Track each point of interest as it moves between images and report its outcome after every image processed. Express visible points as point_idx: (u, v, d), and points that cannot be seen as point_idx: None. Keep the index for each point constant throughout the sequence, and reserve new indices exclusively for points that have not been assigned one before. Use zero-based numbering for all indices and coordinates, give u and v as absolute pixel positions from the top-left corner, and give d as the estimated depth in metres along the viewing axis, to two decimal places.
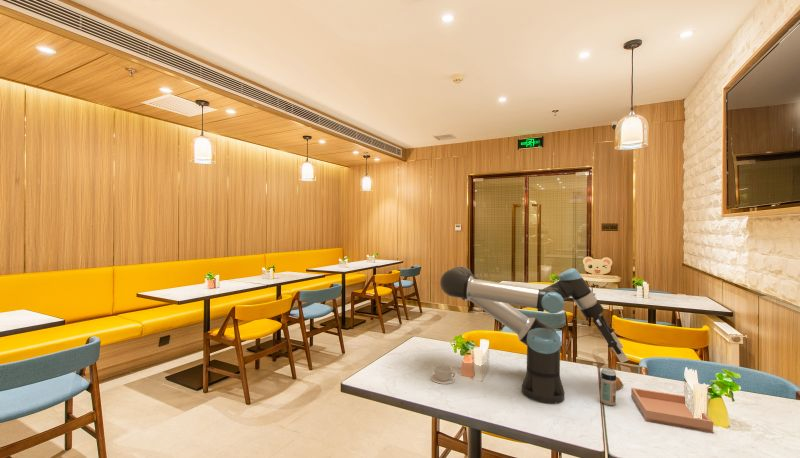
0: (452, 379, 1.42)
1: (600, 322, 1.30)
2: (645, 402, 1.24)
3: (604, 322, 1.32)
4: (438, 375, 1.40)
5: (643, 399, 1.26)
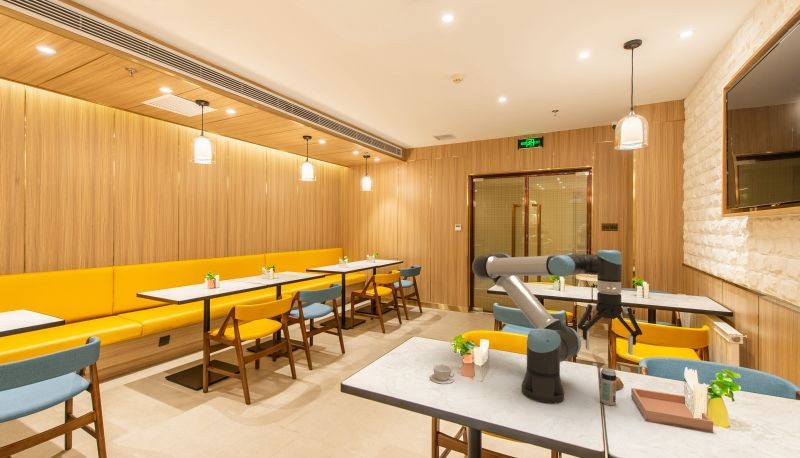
0: (451, 379, 1.42)
1: (588, 306, 1.27)
2: (645, 402, 1.24)
3: (600, 312, 1.25)
4: (437, 375, 1.40)
5: (643, 399, 1.26)
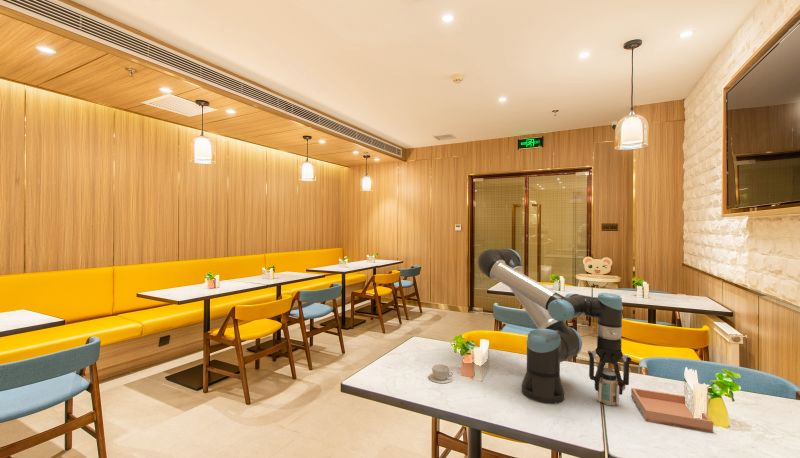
0: (450, 378, 1.43)
1: None
2: (645, 402, 1.24)
3: (602, 359, 1.25)
4: (436, 374, 1.41)
5: (643, 399, 1.26)
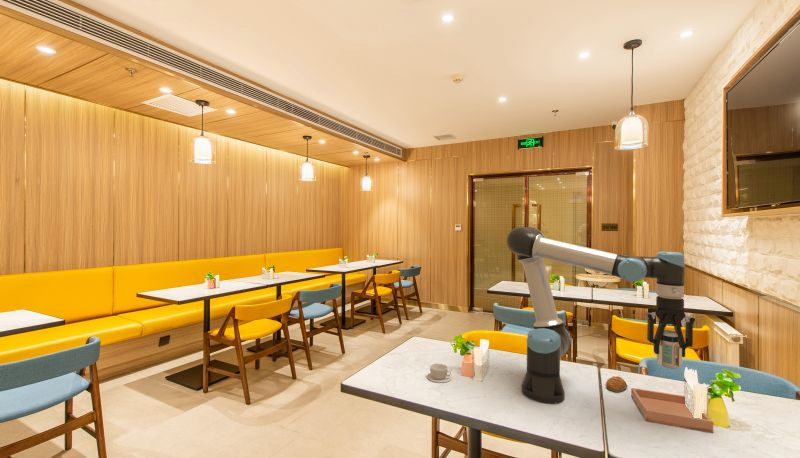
0: (448, 378, 1.43)
1: (647, 316, 1.21)
2: (645, 402, 1.24)
3: (663, 320, 1.18)
4: (434, 374, 1.41)
5: (643, 399, 1.26)
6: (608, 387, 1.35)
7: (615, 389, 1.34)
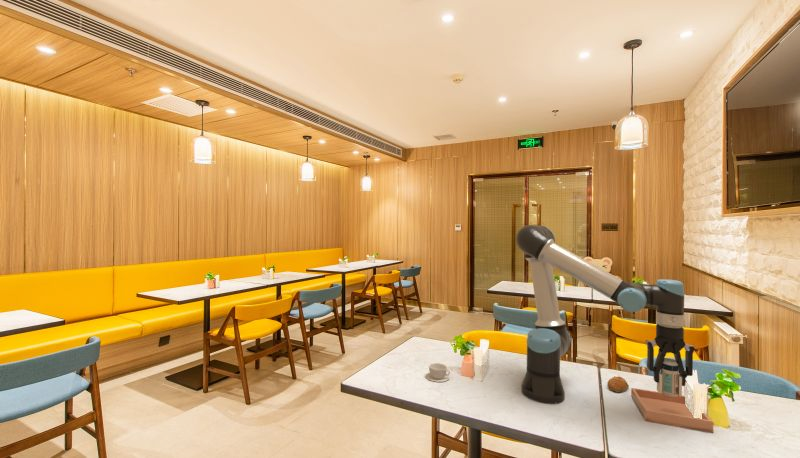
0: (447, 377, 1.44)
1: (647, 344, 1.21)
2: (645, 402, 1.24)
3: (663, 348, 1.18)
4: (433, 373, 1.42)
5: (643, 399, 1.26)
6: (610, 387, 1.35)
7: (617, 389, 1.33)
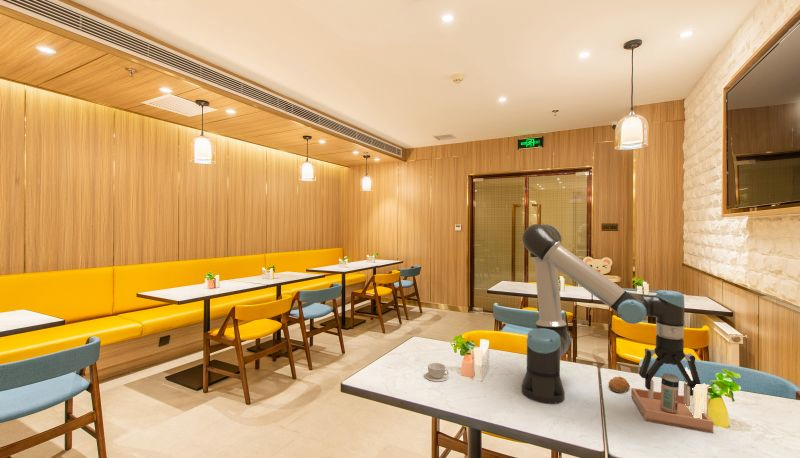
0: (445, 377, 1.44)
1: (646, 352, 1.21)
2: (645, 402, 1.24)
3: (661, 358, 1.18)
4: (432, 373, 1.42)
5: (643, 399, 1.26)
6: (611, 388, 1.35)
7: (618, 390, 1.33)
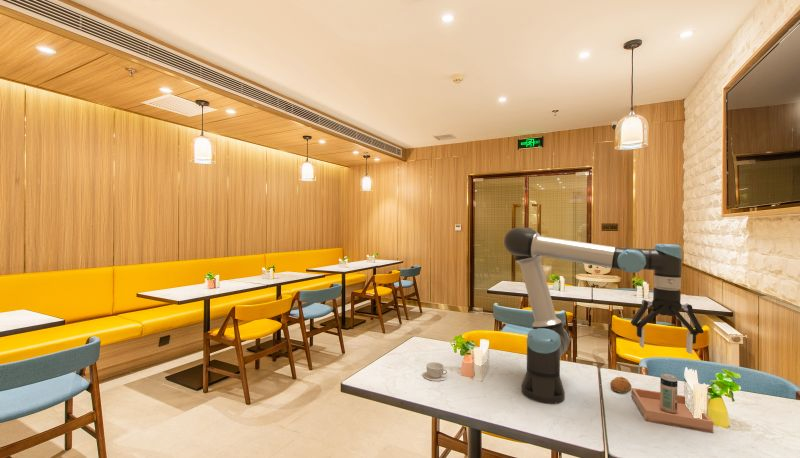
0: (444, 376, 1.44)
1: (643, 303, 1.22)
2: (645, 402, 1.24)
3: (657, 309, 1.20)
4: (430, 372, 1.43)
5: (643, 399, 1.26)
6: (613, 388, 1.34)
7: (621, 390, 1.33)
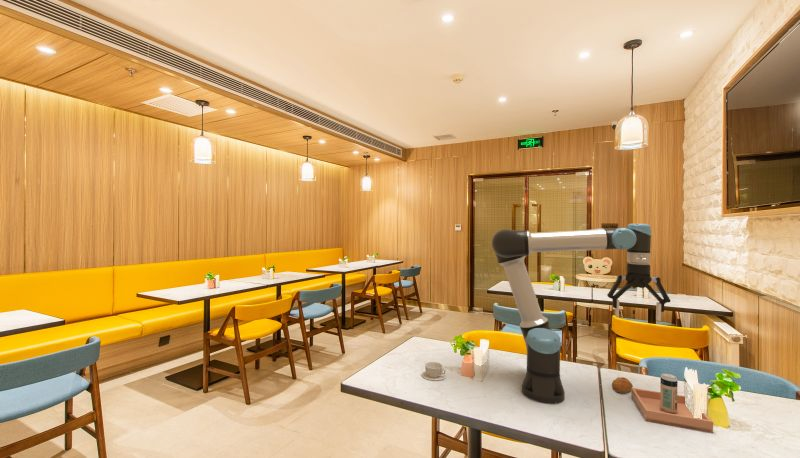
0: (443, 376, 1.45)
1: (617, 277, 1.36)
2: (645, 402, 1.24)
3: (630, 282, 1.34)
4: (429, 372, 1.43)
5: (643, 399, 1.26)
6: (615, 389, 1.34)
7: (623, 391, 1.32)
